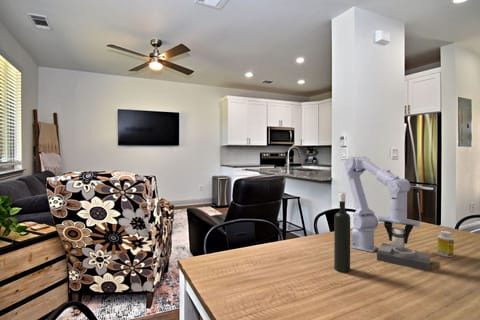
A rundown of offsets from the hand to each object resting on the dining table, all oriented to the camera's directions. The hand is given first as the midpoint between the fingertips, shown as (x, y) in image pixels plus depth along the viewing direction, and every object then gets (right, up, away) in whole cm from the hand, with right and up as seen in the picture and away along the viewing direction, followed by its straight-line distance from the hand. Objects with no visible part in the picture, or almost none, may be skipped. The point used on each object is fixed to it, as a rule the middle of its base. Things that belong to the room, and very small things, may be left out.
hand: (398, 241), depth 107 cm
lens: (0, -2, 0) cm, 2 cm away
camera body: (+4, -9, +3) cm, 10 cm away
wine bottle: (-25, -9, -5) cm, 27 cm away
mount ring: (+4, -6, +3) cm, 7 cm away
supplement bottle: (+26, -9, +8) cm, 29 cm away
